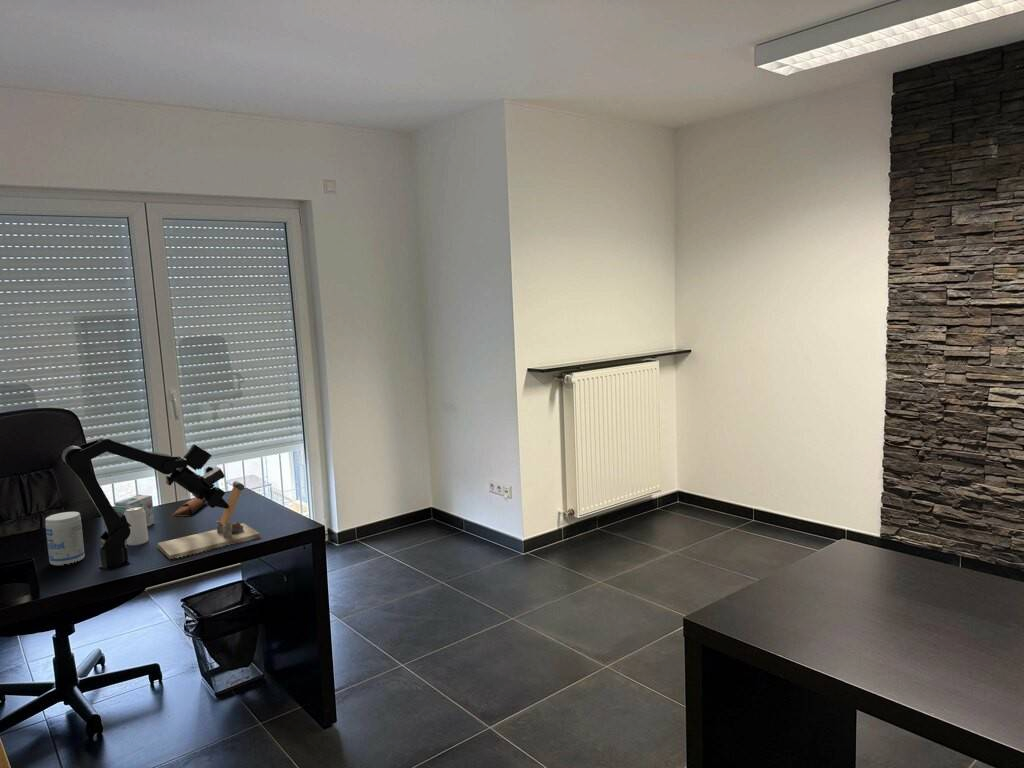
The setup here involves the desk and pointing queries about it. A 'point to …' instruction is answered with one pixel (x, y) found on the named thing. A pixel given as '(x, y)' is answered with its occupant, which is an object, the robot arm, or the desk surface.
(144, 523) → the can
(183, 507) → the brown bread roll
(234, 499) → the lever
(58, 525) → the supplement tub
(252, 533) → the board
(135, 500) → the light bulb box
